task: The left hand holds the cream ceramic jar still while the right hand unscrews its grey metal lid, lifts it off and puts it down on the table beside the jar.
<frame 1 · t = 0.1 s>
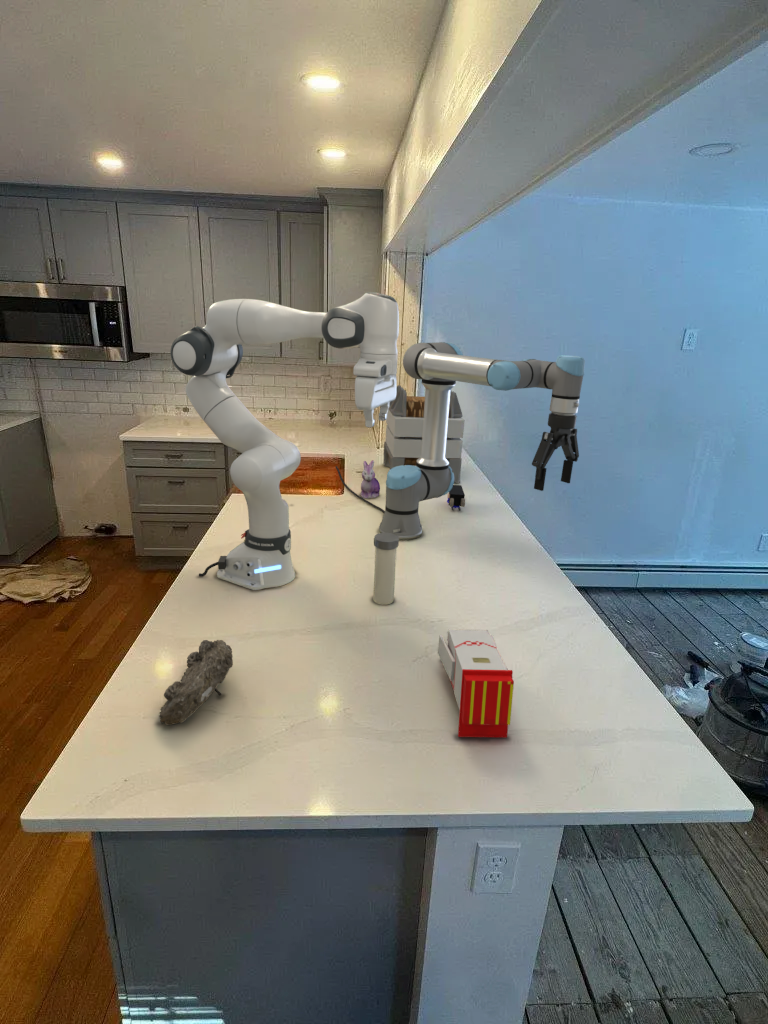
left hand: (376, 423, 139), 48 cm above the counter, tool pointing down, fingers open, 8 cm apart
right hand: (552, 485, 166), 28 cm above the counter, tool pointing down, fingers open, 13 cm apart
fossil: (202, 693, 114), on the counter
jar: (383, 599, 154), on the counter
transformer: (419, 473, 275), on the counter
lid: (386, 538, 148), point 18 cm above the counter, screwed on, not yet turned
figurine character: (454, 506, 230), on the counter
toy: (469, 691, 119), on the counter
figurine: (369, 495, 239), on the counter
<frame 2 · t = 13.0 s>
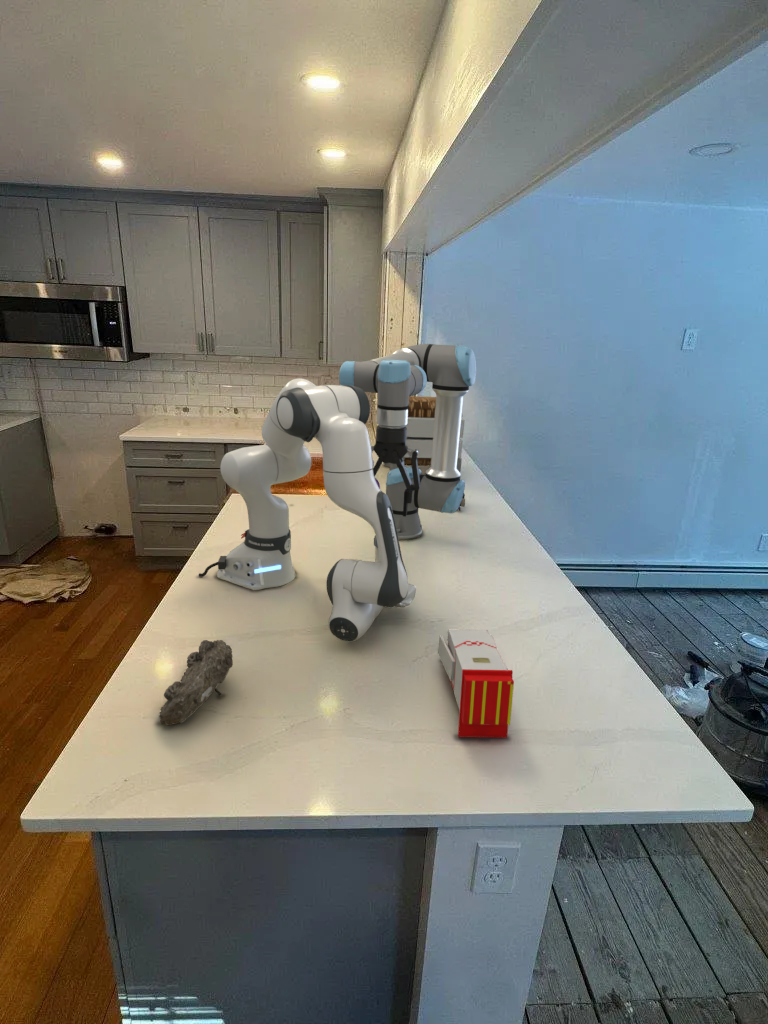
left hand: (385, 576, 153), 7 cm above the counter, tool horizontal, fingers closed on jar, 5 cm apart
right hand: (387, 512, 146), 25 cm above the counter, tool pointing down, fingers open, 8 cm apart
jar: (383, 599, 154), on the counter, touching left hand
everything else where it was.
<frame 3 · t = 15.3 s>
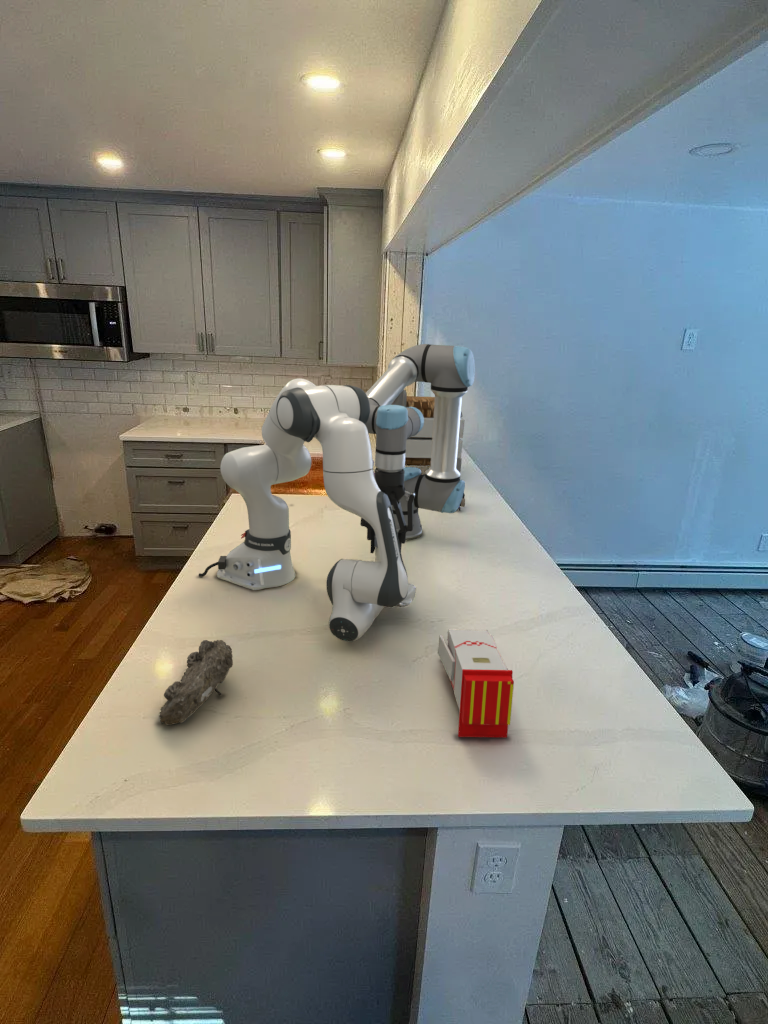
left hand: (385, 576, 153), 7 cm above the counter, tool horizontal, fingers closed on jar, 5 cm apart
right hand: (385, 552, 150), 14 cm above the counter, tool pointing down, fingers closed on lid, 6 cm apart
jar: (383, 599, 154), on the counter, touching left hand
lid: (386, 538, 148), point 18 cm above the counter, screwed on, not yet turned, touching right hand
everything else where it was.
when the right hand's fingers open (14 cm above the counter, at t = 16.8 s): lid stays where it is, point 18 cm above the counter.
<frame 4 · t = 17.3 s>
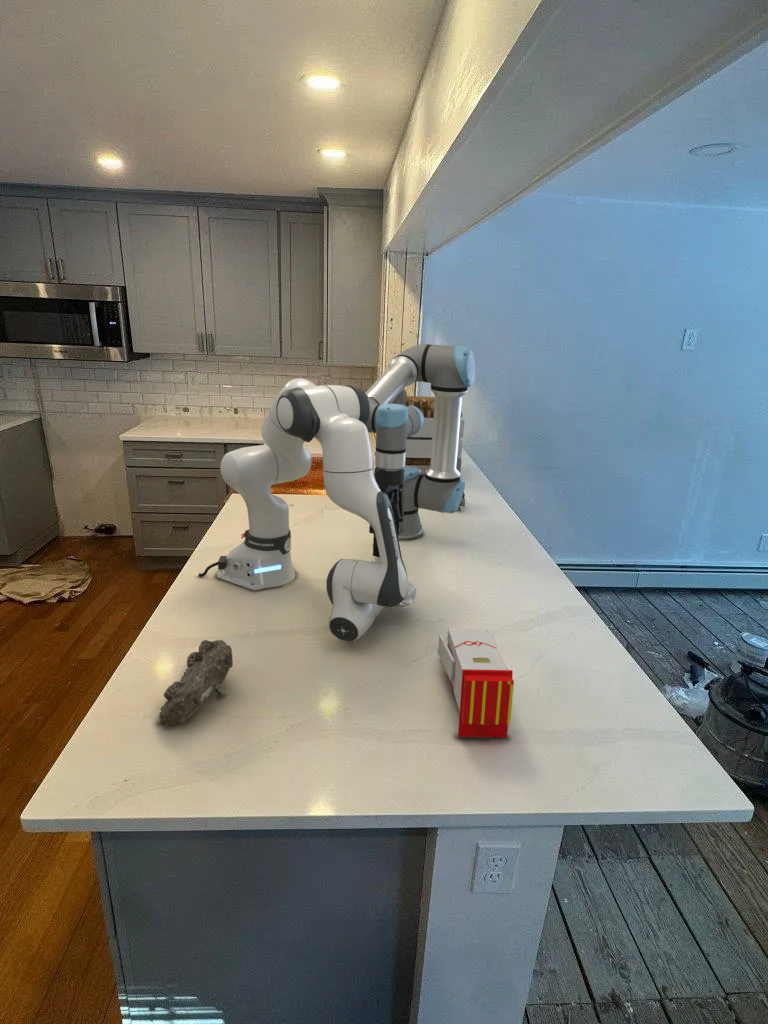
left hand: (385, 576, 153), 7 cm above the counter, tool horizontal, fingers closed on jar, 5 cm apart
right hand: (385, 550, 149), 15 cm above the counter, tool pointing down, fingers open, 8 cm apart
jar: (383, 599, 154), on the counter, touching left hand
lid: (386, 537, 148), point 18 cm above the counter, turned 119° so far, risen 0.3 cm, still on its thread
everything else where it was.
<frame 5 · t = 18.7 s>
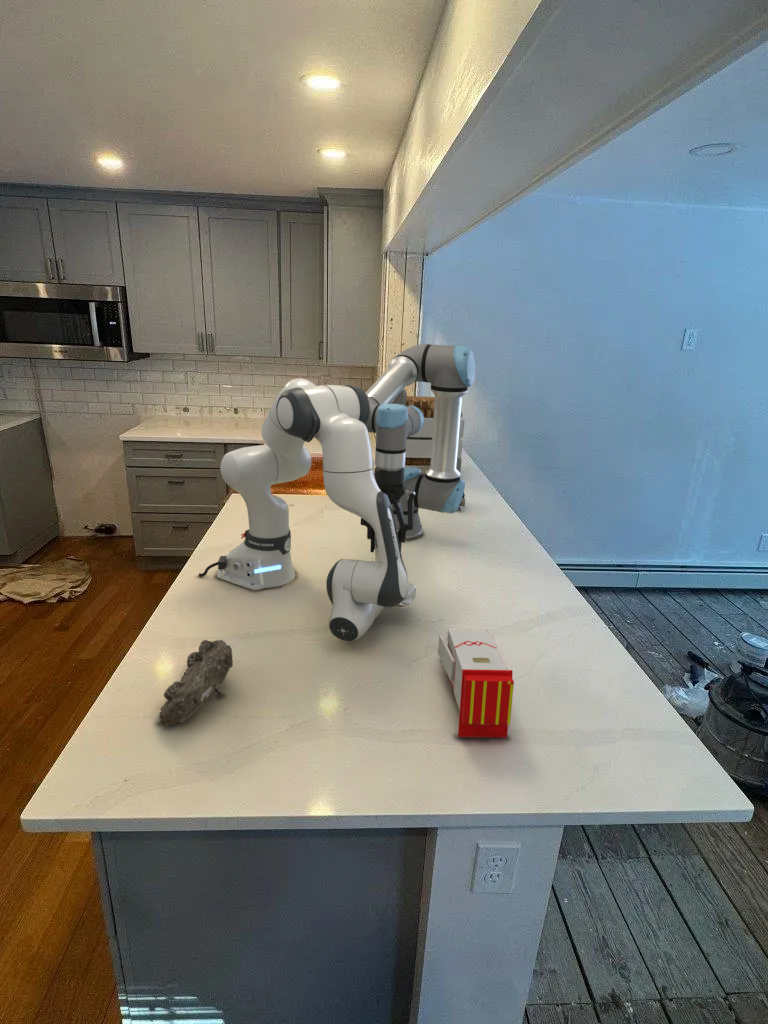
left hand: (385, 576, 153), 7 cm above the counter, tool horizontal, fingers closed on jar, 5 cm apart
right hand: (385, 551, 150), 14 cm above the counter, tool pointing down, fingers closed on lid, 6 cm apart
jar: (383, 599, 154), on the counter, touching left hand
lid: (386, 537, 148), point 18 cm above the counter, turned 119° so far, risen 0.3 cm, still on its thread, touching right hand
everything else where it was.
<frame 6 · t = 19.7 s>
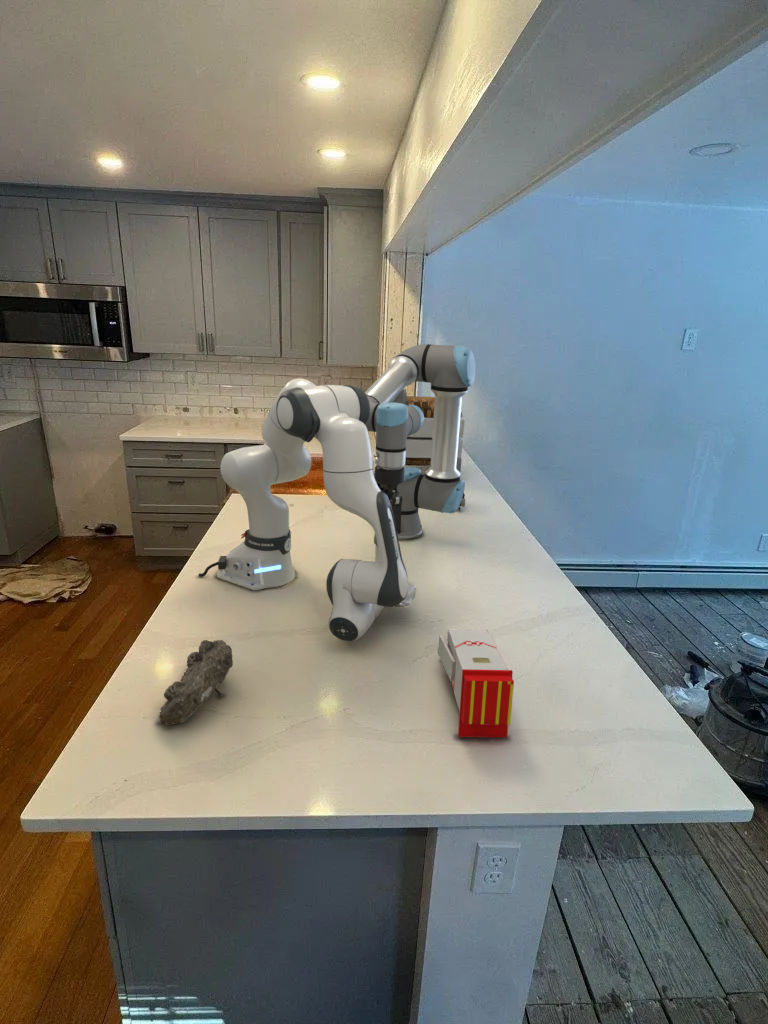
left hand: (385, 576, 153), 7 cm above the counter, tool horizontal, fingers closed on jar, 5 cm apart
right hand: (385, 550, 149), 15 cm above the counter, tool pointing down, fingers closed on lid, 6 cm apart
jar: (383, 599, 154), on the counter, touching left hand
lid: (386, 536, 148), point 19 cm above the counter, off its thread, touching right hand
everything else where it was.
when the right hand's fingers open (0 cm above the counter, at t = 26.3 s): lid drops 2 cm, point 2 cm above the counter.
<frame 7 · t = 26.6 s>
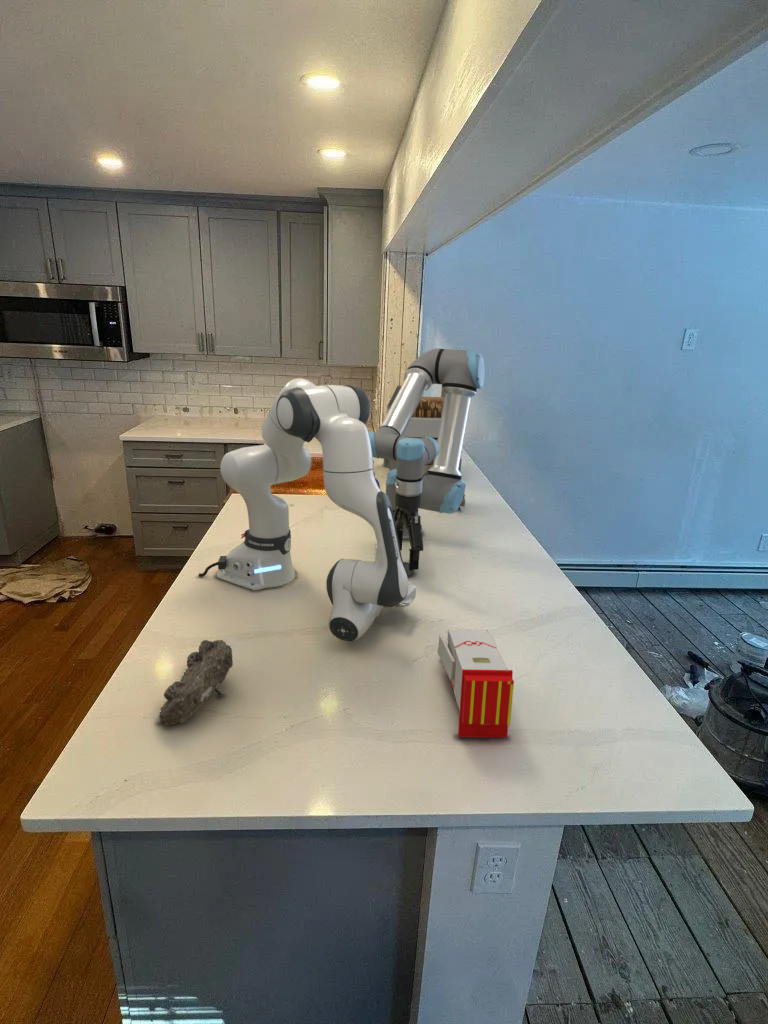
left hand: (385, 576, 153), 7 cm above the counter, tool horizontal, fingers closed on jar, 5 cm apart
right hand: (405, 559, 170), 4 cm above the counter, tool pointing down, fingers open, 13 cm apart
jar: (383, 599, 154), on the counter, touching left hand
lid: (403, 567, 170), point 2 cm above the counter, off its thread
everything else where it was.
when the left hand's fingers open (7 cm above the counter, at t = 27.0 s): jar stays where it is, on the counter.
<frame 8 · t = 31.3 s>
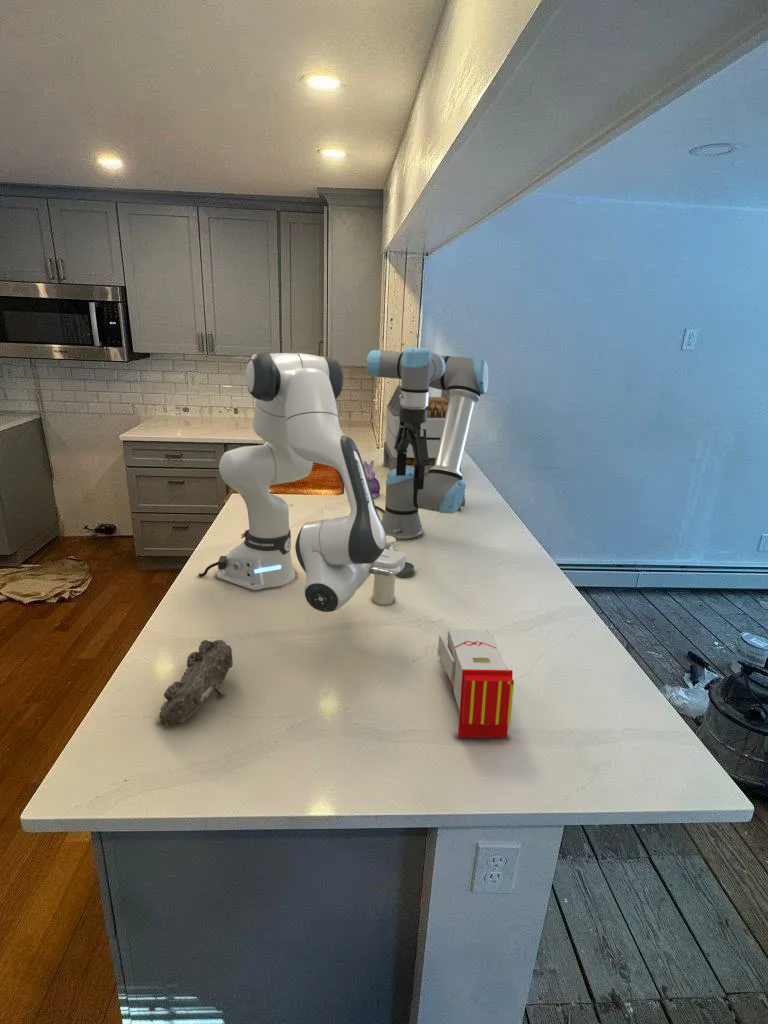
left hand: (372, 544, 137), 21 cm above the counter, tool horizontal, fingers open, 8 cm apart
right hand: (409, 482, 161), 28 cm above the counter, tool pointing down, fingers open, 13 cm apart
jar: (383, 599, 154), on the counter
everything else where it was.
at the end: lid came off its thread; lid point 1.9 cm above the counter; the left hand is holding nothing; the right hand is holding nothing; jar tilted 0°; jar moved 0.0 cm from its start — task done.
